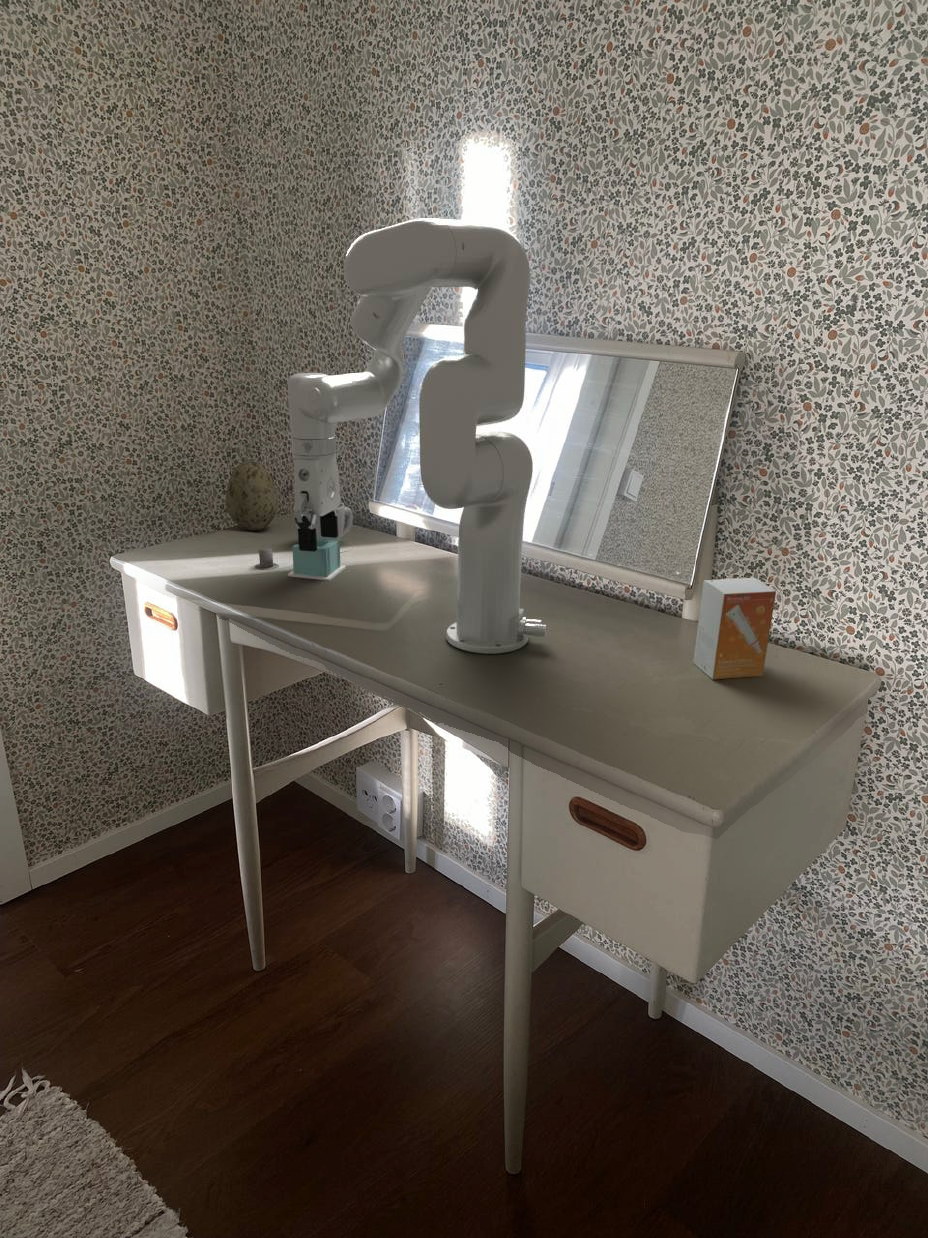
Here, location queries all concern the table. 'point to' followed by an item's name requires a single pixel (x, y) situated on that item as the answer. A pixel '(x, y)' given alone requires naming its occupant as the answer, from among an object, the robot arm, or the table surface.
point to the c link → (317, 558)
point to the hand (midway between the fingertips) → (319, 543)
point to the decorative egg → (251, 496)
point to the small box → (734, 627)
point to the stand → (266, 560)
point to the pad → (319, 576)
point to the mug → (342, 528)
